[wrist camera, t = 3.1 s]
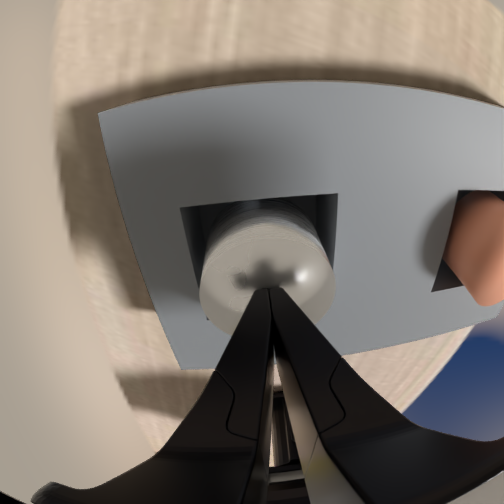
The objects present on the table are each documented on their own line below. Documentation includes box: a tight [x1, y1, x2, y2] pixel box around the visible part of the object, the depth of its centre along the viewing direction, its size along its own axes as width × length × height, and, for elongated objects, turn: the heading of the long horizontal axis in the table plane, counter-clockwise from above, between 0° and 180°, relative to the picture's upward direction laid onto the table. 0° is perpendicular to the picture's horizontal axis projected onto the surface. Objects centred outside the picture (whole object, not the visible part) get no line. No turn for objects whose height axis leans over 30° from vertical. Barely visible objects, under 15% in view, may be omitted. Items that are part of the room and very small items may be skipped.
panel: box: [98, 80, 504, 370], centre depth 12 cm, size 12×19×4 cm, turn 95°
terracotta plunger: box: [442, 190, 504, 306], centre depth 10 cm, size 4×4×3 cm
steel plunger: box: [199, 197, 336, 336], centre depth 10 cm, size 4×4×3 cm
